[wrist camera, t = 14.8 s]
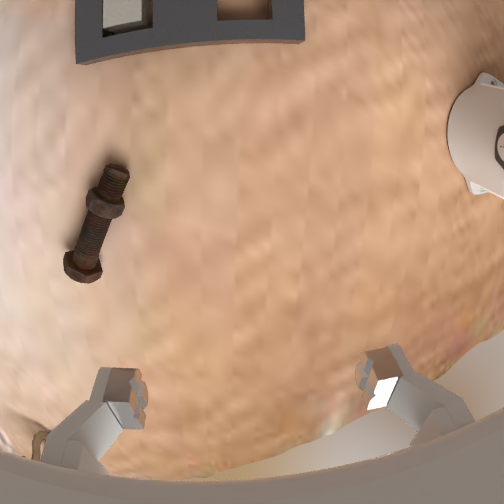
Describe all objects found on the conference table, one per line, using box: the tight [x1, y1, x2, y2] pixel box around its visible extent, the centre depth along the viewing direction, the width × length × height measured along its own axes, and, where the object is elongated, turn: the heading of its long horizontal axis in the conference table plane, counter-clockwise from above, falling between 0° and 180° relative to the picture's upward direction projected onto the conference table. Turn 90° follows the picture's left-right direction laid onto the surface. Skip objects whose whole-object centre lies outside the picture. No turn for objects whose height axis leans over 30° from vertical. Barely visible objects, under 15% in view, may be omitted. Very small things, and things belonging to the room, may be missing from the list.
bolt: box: [63, 164, 130, 283], centre depth 36 cm, size 6×5×15 cm
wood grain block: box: [103, 0, 152, 34], centre depth 24 cm, size 4×4×5 cm
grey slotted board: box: [75, 0, 305, 65], centre depth 25 cm, size 24×10×3 cm, turn 92°
